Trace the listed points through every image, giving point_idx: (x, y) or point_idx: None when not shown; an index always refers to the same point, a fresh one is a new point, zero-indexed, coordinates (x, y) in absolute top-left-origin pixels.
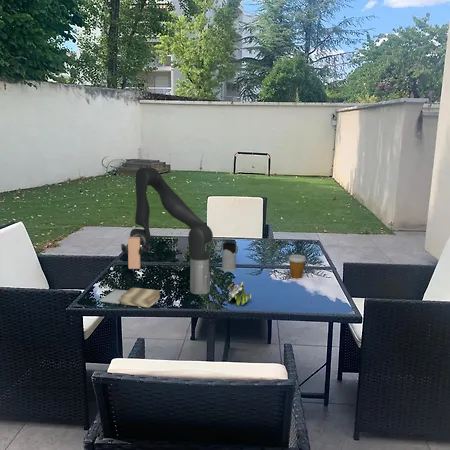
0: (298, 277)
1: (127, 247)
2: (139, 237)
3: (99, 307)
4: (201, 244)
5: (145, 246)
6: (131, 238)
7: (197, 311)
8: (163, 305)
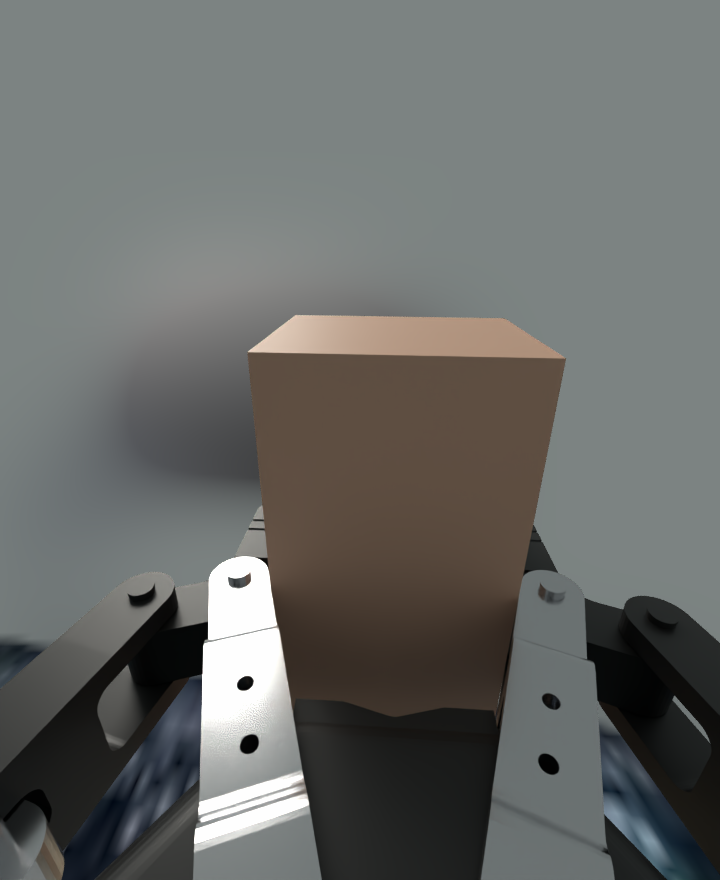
0: None
1: (541, 574)
2: (272, 338)
3: (610, 787)
4: None
5: (142, 589)
6: (445, 323)
7: (28, 661)
8: (166, 779)
